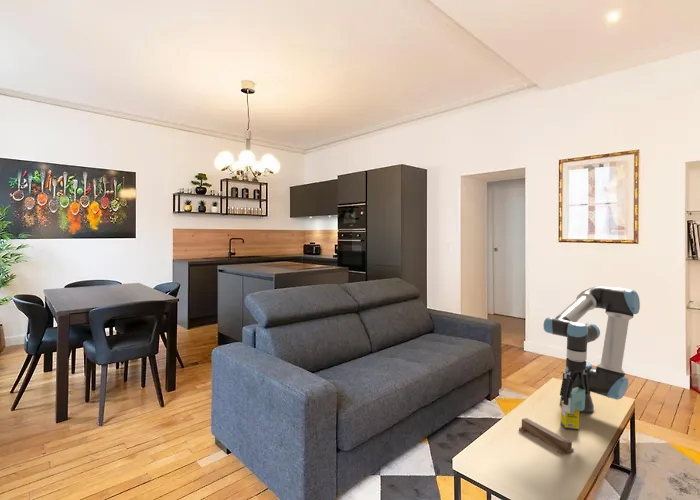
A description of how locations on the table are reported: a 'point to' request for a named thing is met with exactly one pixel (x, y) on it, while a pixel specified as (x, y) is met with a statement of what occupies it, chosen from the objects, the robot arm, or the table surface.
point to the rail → (547, 436)
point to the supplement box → (570, 419)
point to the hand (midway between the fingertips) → (574, 409)
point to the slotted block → (577, 399)
